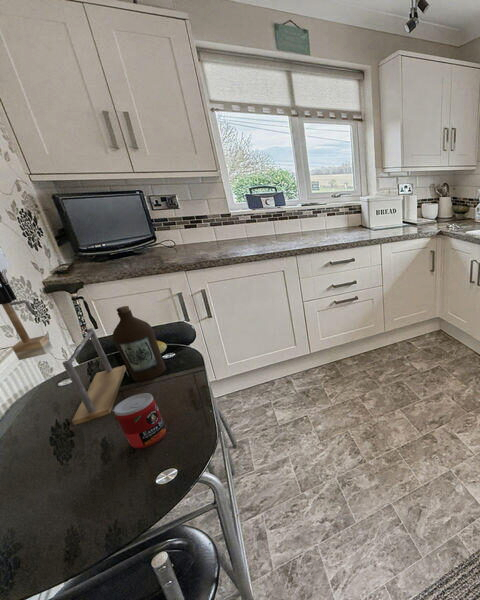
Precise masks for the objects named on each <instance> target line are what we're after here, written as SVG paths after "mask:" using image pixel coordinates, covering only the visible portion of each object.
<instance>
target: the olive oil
mask: <svg viewBox="0 0 480 600" xmlns="http://www.w3.org/2000/svg"><path fill="white" fill-rule="evenodd" d="M116 312H117V316H118V318H119V321H118V324H117V325H116V326H115V328H114V330H113V332H112V341H113V343H114V345H115V347H116V349H117V351H118V352H119V354H120V356H121V358H122V360H123V362H124V364H125V367H126V369H127V370H128V371H129V374H130V375H131V378H132V380H133V381H134V382H138V383H139V382H145V381H149V380H152V379H155V378H157V377H159V376H161V375H162V374H163V373H165V371H166V369H167V367H166V365H165V364H166V363H165V362H164V359H163V356H162V353H160V350H159V346H158V343H157V341H158V340H157V337H156V335H155V330H154V328H153V327H152V326H151V324H149V322H148V321H145V320H142V319H140V318H137V317H135V316H133V313H132V310H131V309H130V306H129V305H124V306H119V307H117V308H116Z"/></svg>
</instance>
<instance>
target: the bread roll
mask: <svg viewBox="0 0 480 600" xmlns="http://www.w3.org/2000/svg"><path fill="white" fill-rule="evenodd" d="M157 343H158V346H159V350H160V353H161V354H163V353H164V352H166V350H167V347H168V346H167V344H166V343H165V342H163V341H160V340H157Z"/></svg>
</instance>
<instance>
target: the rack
mask: <svg viewBox="0 0 480 600" xmlns="http://www.w3.org/2000/svg"><path fill="white" fill-rule="evenodd" d="M86 332H87V334H86V335H85V336H84V338H83V339H82V340H81V342H80V344H79V345H78V346H77V347H76V349H75V350H74V352H73V353H72V354H71V356H70V357H69V359H67V360H64V361H63V362H62V365H63V367H64V370H65V371H66V373H67V375H68V377H69V379H70V381H71V382H72V385H73V387H74V388H75V390H76V393H77V394H78V397H79V398H80V400H81V403H80V404H79V407H78V408H77V410H76V412H75V414H74V415H73V418H72V420H71V422H72V425H73V426H77V425H80V424H82V423H85V422H89V421H91V420H95V419H98V418H101V417H104V416H106V415H109V414H111V413H112V410H113V408H114V404H115V401H116V398H117V396H118V393H119V390H120V388H121V384H122V382H123V379H124V376H125V374H126V371H127V366H126V364H125V365H124V364H123V365H121V366H116V367H113V368H112V366H111V364H110V361H109V360H108V356H107V355H106V353H105V351H104V349H103V347H102V344H101V343H100V340H99V337H98V336H97V334H96V332H95V330H94V328H93V327H91V328H90V327H89V328H87V329H86ZM89 339H90V340H91V342H92V345H93V346H94V349H95V351H96V353H97V355H98V357H99V359H100V361H101V363H102V365H103V367H104V370H103V371H99V372H96V373H95V374H94V377H93V379H92V381H91V383H90V385H89V387H88V389H87V390H86V388H85V386H84V384H83V381H82V380H81V378H80V377H79V374H78V372H77V371H76V369H75V366H74V365H73V362H74V361H75V359H76V358H77V357H78V355H79V354H80V352H81V351H82V349H83V348H84V347H85V345H86V344H87V342H88V341H89ZM124 373H125V374H124ZM111 409H112V410H111Z"/></svg>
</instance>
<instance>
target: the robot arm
mask: <svg viewBox="0 0 480 600" xmlns="http://www.w3.org/2000/svg"><path fill="white" fill-rule="evenodd" d="M9 267H10V265H9V260H8V259H7V257H6V255H5V252H4V251H3V250H2V248H1V247H0V305H1V306H2V304H6V303H12V302H14V301H16V300H17V296H16V294H15V292H14V290H13V288H12V287H11V285H10V281H9V279H8V277H7V275H6V274H7V273H8V270H7V269H8V268H9Z"/></svg>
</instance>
